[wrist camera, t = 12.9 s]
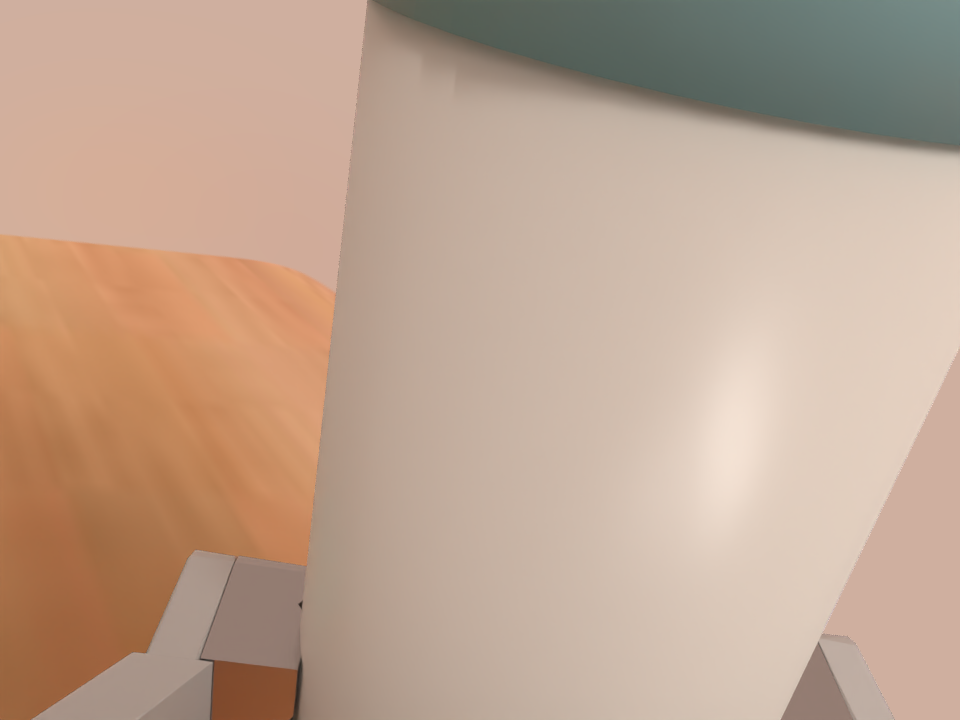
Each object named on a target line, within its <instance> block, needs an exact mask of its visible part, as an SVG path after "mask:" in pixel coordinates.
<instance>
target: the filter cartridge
mask: <svg viewBox="0 0 960 720" xmlns="http://www.w3.org/2000/svg"><path fill="white" fill-rule="evenodd" d="M959 348H960V0H368V1H367V10H366V21H365V29H364V39H363V48H362V57H361V67H360V75H359V85H358V94H357V103H356V113H355V122H354V131H353V141H352V150H351V159H350V168H349V178H348V187H347V196H346V206H345V215H344V224H343V234H342V243H341V252H340V261H339V271H338V280H337V289H336V298H335V308H334V317H333V326H332V335H331V345H330V354H329V363H328V373H327V382H326V391H325V400H324V410H323V419H322V428H321V438H320V447H319V456H318V465H317V475H316V484H315V493H314V503H313V512H312V521H311V530H310V540H309V549H308V558H307V568H306V577H305V586H304V595H303V605H302V614H301V623H300V650H301V663H300V673H299V682H298V692H297V702H296V706H295V710H294V715H293V720H781V718H782V716H783V714H784V712H785V710H786V708H787V705H788V703H789V701H790V699H791V697H792V695H793V693H794V691H795V689H796V687H797V685H798V683H799V681H800V678H801V676H802V674H803V672H804V670H805V668H806V666H807V664H808V662H809V660H810V658H811V656H812V653H813V651H814V649H815V647H816V645H817V643H818V641H819V639H820V637H821V635H822V632H823V630H824V628H825V626H826V624H827V622H828V620H829V618H830V616H831V614H832V612H833V610H834V608H835V606H836V604H837V601H838V599H839V597H840V595H841V593H842V591H843V589H844V587H845V585H846V582H847V581H848V579H849V576H850V574H851V572H852V570H853V568H854V566H855V564H856V562H857V559H858V558H859V556H860V554H861V551H862V549H863V547H864V545H865V543H866V541H867V539H868V537H869V535H870V533H871V531H872V529H873V527H874V524H875V522H876V520H877V518H878V516H879V514H880V512H881V510H882V508H883V506H884V504H885V502H886V499H887V497H888V495H889V493H890V491H891V489H892V487H893V485H894V483H895V481H896V479H897V477H898V475H899V472H900V470H901V468H902V466H903V464H904V462H905V460H906V458H907V456H908V454H909V452H910V450H911V447H912V445H913V443H914V441H915V439H916V437H917V435H918V433H919V431H920V429H921V427H922V425H923V423H924V420H925V418H926V416H927V414H928V412H929V410H930V408H931V406H932V404H933V402H934V400H935V398H936V395H937V393H938V391H939V389H940V387H941V385H942V383H943V381H944V379H945V377H946V374H947V373H948V370H949V368H950V366H951V364H952V362H953V360H954V358H955V356H956V354H957V352H958V350H959Z"/></svg>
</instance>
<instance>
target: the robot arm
mask: <svg viewBox="0 0 960 720" xmlns="http://www.w3.org/2000/svg"><path fill="white" fill-rule="evenodd" d="M306 568H307V566H302V565H295V564H289V563H283V562H276V561H270V560H263V559H257V558H251V557H244V556H239V557H237V556H232V555H226V554H220V553H213V552H207V551H201V550H195V551H194V552H193V553H192V554H191V555H190V556H189V557H188V559H187V561H186V563H185V565H184V568H183V570H182V572H181V575H180V577H179V579H178V581H177V584H176V586H175V588H174V591H173V593H172V595H171V597H170V600H169V602H168V604H167V607H166V609H165V611H164V613H163V616H162V618H161V620H160V622H159V625H158V627H157V629H156V632H155V634H154V636H153V638H152V641H151V643H150V645H149V648H148V650H147V652H146V653H137V652H132V653H130V654H129V655H127V656H126V657H124V658H123V659H121V660H120V661H118V662H117V663H115V664H114V665H112V666H111V667H109V668H108V669H106V670H105V671H103V672H102V673H100V674H99V675H97V676H96V677H94V678H93V679H91V680H90V681H88V682H87V683H85V684H84V685H82V686H81V687H79V688H78V689H76V690H75V691H73V692H72V693H70V694H69V695H67V696H66V697H64V698H63V699H61V700H60V701H58V702H57V703H55V704H54V705H52V706H51V707H49V708H48V709H46V710H45V711H43V712H42V713H40V714H39V715H37V716H36V717H34V718H33V719H31V720H293V715H294V710H295V706H296V702H297V692H298V682H299V673H300V663H301V650H300V623H301V614H302V605H303V595H304V586H305V577H306ZM781 720H895V719H894V717H893V715H892V713H891V711H890V709H889V707H888V705H887V704H886V702H885V700H884V697H883V696H882V693H881V692H880V690H879V688H878V686H877V684H876V682H875V680H874V678H873V676H872V674H871V672H870V670H869V668H868V666H867V664H866V662H865V660H864V659H863V656H862V654H861V653H860V651H859V648H858V646H857V645H856V643H855V642H853V641H852V640H851V639H850V638H849V637H846V636H838V635H830V634H822V635H821V637H820V639H819V641H818V643H817V645H816V647H815V649H814V651H813V653H812V656H811V658H810V660H809V662H808V664H807V666H806V668H805V670H804V672H803V674H802V676H801V678H800V681H799V683H798V685H797V687H796V689H795V691H794V693H793V695H792V697H791V699H790V701H789V703H788V705H787V708H786V710H785V712H784V714H783V716H782V718H781Z"/></svg>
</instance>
